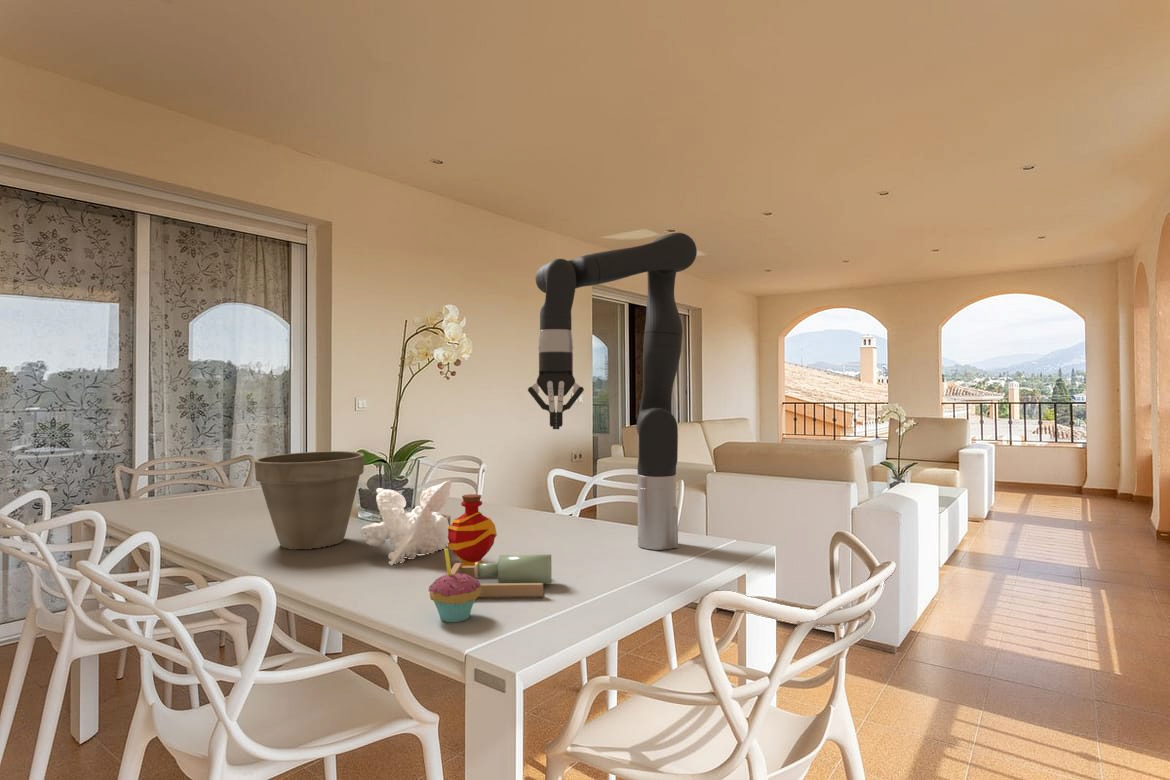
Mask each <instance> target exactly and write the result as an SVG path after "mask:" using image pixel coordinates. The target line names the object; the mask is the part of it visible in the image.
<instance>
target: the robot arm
mask: <svg viewBox="0 0 1170 780" xmlns="http://www.w3.org/2000/svg"><path fill="white" fill-rule="evenodd" d="M697 252H698V251H697V246H696V243H695V240H694V239H693V238H692V237H690V235H688V234H686V233H683V232H672V233H669V234H666V235H663V236H661V237H658V238H656V239H654V240H653V241H652V242H649V243H645V244H642V245H637V246H632V247H624V248H619V249H613V250H612V249H611V250H606V251H599V252H594V253H589V254H584V255H582V256H579V257H577V258H575V259H571V260H567V259H564V258H555V259H553V260H551V261H549V262H547V263H545V264H543V265H542V266H540V267H539V269H538V270H537V272H536V274H535V283H536V286H537V288H538V290H540V291H541V292H542V293H544V294H545V297H544V298H545V299H544V303H543V305H542V306H541V307H540V311H539V337H538V376H537V378H536V382H535V383H534V384H533V385H532V386H530V387H528V388H527V392H528V393H529V394H530V395H531V397H532V398H533V400H535V402H536V403H537V404H538V406H539V407H540V408H541V409H542V410H544V411H547V412H548V413H549V426H550V427H552V430H560V427H563V419H564V418H563V414H564V412H565V411H567V410H570V409H571V408H572V406H573V405H574V404H575V402H577V400H578V399H579V397H581V394H583V392H584V391H585V388H584V386H581V385H579V384H578V383H576V379H575V377H574V374H573V373H574V371H573V365H574V364H573V361H574V359H573V357H574V353H573V352H574V351H573V350H574V345H573V334H572V331H573V330H572V308H573V304H574V298H575V293H576V289H579V288H582V287H591V286H596V285H601V284H606V283H610V282H611V283H612V282H613V281H614V282H615V281H619V280H623V279H625V278H629V277H631V276H635V275H639V274H643V273H646V274H647V298H646V308H645V309H646V311H645V312H646V313H645V326H644V335H643V344H642V345H643V347H642V350H643V351H642V393H641V398H640V406H639V411H638V415H637V419H636V432H637V435H638V460H637V545H638V547H639V548H643V549H647V550H653V551H654V550H656V551H657V550H658V551H659V550H660V551H661V550H670V549H678V548H679V508H678V507H677V464H678V453H679V452H678V450H679V449H678V445H679V444H678V442H679V441H678V440H679V430H678V423H677V422H678V421H677V420H676V417H675V416H674V414H673V412H672V411H673V410H672V408H673V407H672V403H673V402H672V401H673V399H672V398H673V387H674V383H675V380H676V376H677V371H678V369H679V364H680V359H681V354H682V344H683V323H682V319H681V315H680V313H679V310H678V307H677V306H678V305H677V304H676V303H677V302H676V299H675V283H676V277H677V273H679V272H683V271H685V270H687V269H688V268H689V267H692V265H693V264H694V262H695V260H696V257H697V256H698V255H697ZM539 388H540V389H541V391H542V392H543V393H544V395H545V396H547V397H548V400H547V401H548V404H547V403H546V402H545V401H544V400H543V399H542V397H541V396H540V395H539V393H540V389H539ZM572 388H573V389H572ZM571 389H572V393H573V395H572V396H571V397H570V399H569V400H568V401H567V402H566V403H565V404H564V397H565V396H567V395H568V393H569V392H570V390H571ZM555 397H557V403H556V404H557V406H555Z"/></svg>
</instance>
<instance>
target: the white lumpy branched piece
mask: <svg viewBox="0 0 1170 780" xmlns="http://www.w3.org/2000/svg"><path fill="white" fill-rule="evenodd" d="M451 488H452V481H451V480H446V481H443V482H442V483H439V484H436V485H433V486H430V487H427V489H425V490H423V491H422V492H421V495H420V497H419V504H420V505H417V506H415V508H413V509H412V510H411V512H410V511H408V512H405V509H404V508H405V507H406V505H407V501H406V499H405V497H404V495H402V494H401V493H399V492H398V491H396V490H392V489H389V488H387V489H385V488H382V487H378V488H376V489H375V492H376V494H377V495H376V497H375V500H376V501H375V502H376V504H377V509H378V510H379V514H380V515H381V517H382V520H383V521H384V522H381V523H380V522H373V523H371V524H366V525H364V526H362V527H361V528H360V529H359V530H360V533H361V537H362V538H363V542H365V543H366V544H367V545H368V546H371V547H382V546H384V545H385V544H386V540H389V539H390V540H389V544H390V545H391V546H392V548H393V551H390V552H389V553H388V559H389V561H388V563H389V564H395V563H397V562H403V561H405V562H406V559H408V558H414V559H416V558H417V556H416V555H417V554H427V553H432V554H435V553H436V552H439V551H438V550H441V551H443V550H442V549H445V545H444V544H446V547H448V543H449V540H448V527H449V524H448V520H447V519H446V518H445V517H444V516H440V515H441V514H442V513H441V510H442V509H443V508H444V507H445V505H446V504H447V501H448V498H449V496H450V492H451V491H450V489H451ZM435 551H436V552H435ZM427 555H428V554H427ZM404 557H407V558H405V559H404ZM403 563H404V562H403ZM389 564H388V565H389ZM397 564H398V563H397Z"/></svg>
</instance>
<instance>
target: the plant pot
mask: <svg viewBox="0 0 1170 780" xmlns="http://www.w3.org/2000/svg"><path fill="white" fill-rule="evenodd" d="M253 463H254V471H255V473H254V475H255V480H256V481H257V482H259V483H260V486H261V487H260V488H261V490H262V493H263V497H264V500H265V503H266V505H267V509H268V513H269V515H270V518H271V522H272V526H273V529H274V531H275V534H276V537H277V540H278V542H279V544H280V547H282V548H283V547H285V548H284V549H286V548H291V549H290V550H296V549H306V550H311V549H310V548H316V549H322V548H321V547H323V548H327V547H326V546H328V547H331V545H332V546H335V545H338V544H340V543H342V542H343V541H344V539H345V537H346V533H347V529H348V524H349V521H350V517H351V513H352V510H353V504H354V501H355V497H356V493H357V488H358V486H359V480H360V476H361V475H363V473H364V471H365V469H364V468H365V454H364V453H362V452H359V451H357V452H356V451H347V450H346V451H345V450H344V451H343V450H342V451H341V450H337V451H336V450H329V451H328V450H327V451H326V450H325V451H324V450H323V451H307V452H306V451H305V452H293V453H292V452H291V453H282V454H275V455H266V456H263V457H259V458H255V460H254V462H253ZM334 544H335V545H334Z"/></svg>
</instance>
